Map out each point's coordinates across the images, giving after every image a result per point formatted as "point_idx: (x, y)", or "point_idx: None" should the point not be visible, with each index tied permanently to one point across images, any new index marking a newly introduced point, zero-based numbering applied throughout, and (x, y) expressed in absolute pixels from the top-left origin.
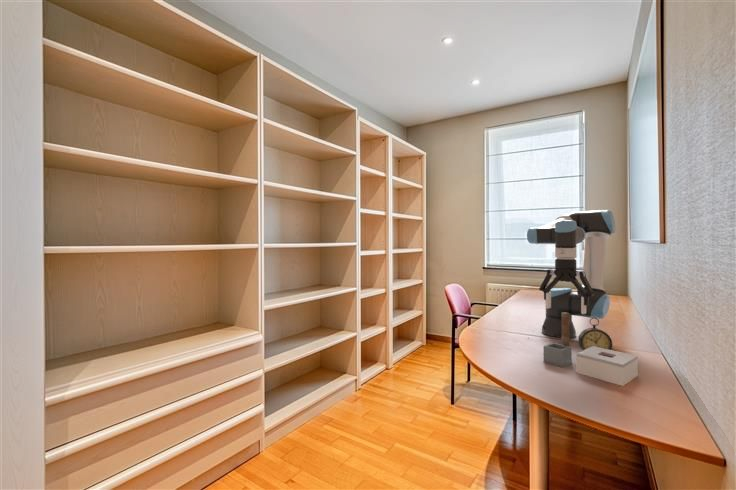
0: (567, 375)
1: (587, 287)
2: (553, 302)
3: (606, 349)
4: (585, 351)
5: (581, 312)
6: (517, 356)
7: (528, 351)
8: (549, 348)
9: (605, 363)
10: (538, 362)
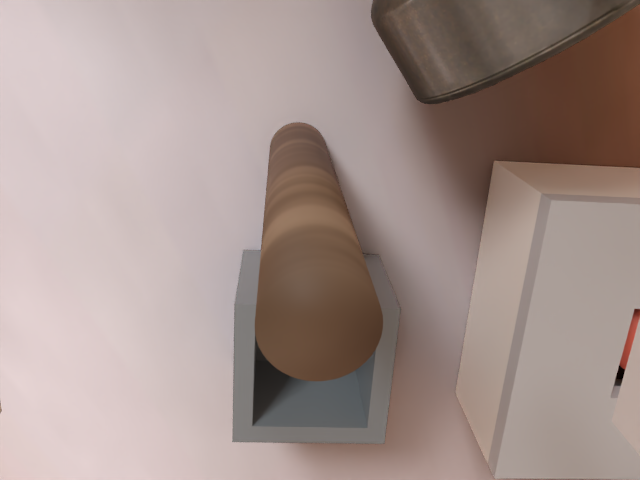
0: (429, 462)
1: None
2: None
3: None
4: (532, 394)
5: (628, 436)
6: (70, 396)
7: (42, 237)
8: (282, 437)
9: None
10: (224, 398)
